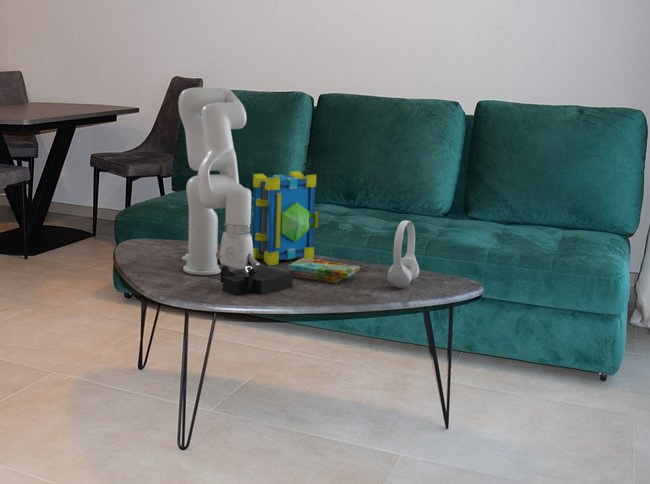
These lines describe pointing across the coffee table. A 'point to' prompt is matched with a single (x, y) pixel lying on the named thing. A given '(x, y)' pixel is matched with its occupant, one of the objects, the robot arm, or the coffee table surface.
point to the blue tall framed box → (284, 217)
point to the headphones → (407, 265)
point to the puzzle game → (321, 270)
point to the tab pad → (237, 283)
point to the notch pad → (269, 279)
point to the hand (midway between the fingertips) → (236, 285)
